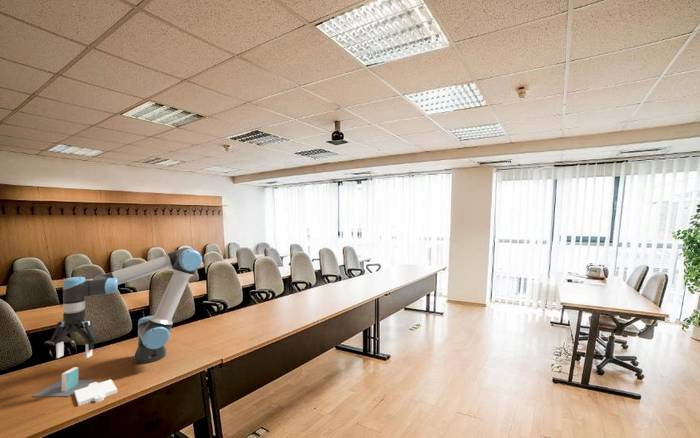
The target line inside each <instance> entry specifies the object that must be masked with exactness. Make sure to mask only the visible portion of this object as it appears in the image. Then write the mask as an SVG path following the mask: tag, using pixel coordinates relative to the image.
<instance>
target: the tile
mask: <svg viewBox="0 0 700 438" xmlns="http://www.w3.org/2000/svg"><path fill="white" fill-rule="evenodd" d="M61 380H62V391H68V390H69V389H71V388H73V387H74V386H76V385H78V380H79V366H78V367H77V366H73V367H72V368H70V369H68V370H66V371H64V372H63V373H61Z"/></svg>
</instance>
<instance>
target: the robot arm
mask: <svg viewBox="0 0 700 438" xmlns="http://www.w3.org/2000/svg"><path fill="white" fill-rule="evenodd" d="M202 263H203V256H202V254H201V252H199V251H198V250H196V249H194V248H188V247H184V248H180V249H177V250H174V251H171V252H169V253H165V255H164V256H162V257H158V258H154V259H151V260H148V261H145V262H141V263H137V264H135V265H131V266H128V267H124V268H121V269H118V270H115V271H111V272H108V273H101V274H98V275H95V276H94V277H93V278H92V280H86V277H84V276H74V277H67V278H65V279H64V280H63V285H62V298H63V299H62V301H63V303H62V307H63V308H62V312H63V314H62V315H63V316H62V320H61V321H59V322H57V324H56V328H55V330H54V332H53V334H52V335H51V338H50V340H49V341H50V343H54V350H55V353H56V354H55V355H56V356H55V358H56V359H60V358H61V357H64V352H65V351H64V350H65V348H64V346H65V345H64V342H65V341H63V340H64V339H65V338H66V336H67V335H68V334H69V333H72V332H74V333H78V334H80V336H81V337H82V339H84V341H85V342H86V343H85V359H89V358H91V357H92V356H93V349H94V348H95V346H94V345H95V342H96V341H99V337H98V335H97V332H96V330H95V327H93V324H92V320H91V319H90V320H88V321H86V320H85V318H86V297H93V296H100V295H102V296H103V295H110V294H115V293H117V292H118V286H119V285H121V284H124V283H128V282H130V281H133V280H138V279H140V278H144V277H146V276H150V275H152V274H156V273H159V272H162V271H165V270H167V269H169V270H172V272H173V273H172V275H171V278H170V281H169V282H168V285H167V286H166V289H165V291H164V293H163V295H162V298H161V300H160V302H159V304H158V307H157V309H156V311H155V313H154V315H149V316H144V317H141V318H139V319H138V320H137V321H138V323H137V348H136V351H135V354H134V355H133V361H134V362H133V363H136V364H148V363H153V362H156V361H158V360H161V359H163V358H164V357H166V355H167V348H166V347H165V345H166V344H167V343H168V341H169V340H170V337H171V332H170V331H171V330H172V327H173V320H172V319H173V317H174V315H175V312H176V311H177V308H178V305H179V303H180V301H181V298H182V297H183V294H184V292H185V289H186V287H187V285H188V282H189V281H190V278H191V277H194V275H195V273H196V271H197V270H198V269H199V268H200V267H201V266H202Z"/></svg>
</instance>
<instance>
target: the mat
mask: <svg viewBox="0 0 700 438" xmlns="http://www.w3.org/2000/svg"><path fill="white" fill-rule="evenodd" d="M93 382H95V381H94V379H78V385H76V386H74V387H73V388H71V389H69V390H68V391H62V379H60V380H58V381H56V382H54V383H53V384H51V385H49V386H47V387H45V388H43V389H42V390H40V391H38V392H36V393H34V394H33V395H31V397H32V398H44V397H45V398H52V397H53V398H54V397H55V398H65V397H66V398H68V397H71V396H72V395H74V391H75V390H78V389H82V388H85V387H87V386H89V384H90V383H93Z"/></svg>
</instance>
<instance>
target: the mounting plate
mask: <svg viewBox="0 0 700 438" xmlns="http://www.w3.org/2000/svg"><path fill="white" fill-rule="evenodd" d="M117 393H118V388H117V385H115V383H114V381H113V380H112V379H110V378H109V379H108V380H105V381H100V382H97V381H93V382H91V383H89V384H88V385H87V386H85V387H83V388H81V389H78V390H75V391H74V393H73V395H74V397H75V400H76V403H77V406H78V407H80V406H83V405H85V403H86V404H89V403H92V402H94V401H95V402H94V403H99V402H102V401H104V400H105V398H106V397H108V396H111V395H115V394H117ZM91 401H92V402H91ZM88 402H89V403H88ZM82 404H83V405H82ZM79 405H80V406H79Z"/></svg>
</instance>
